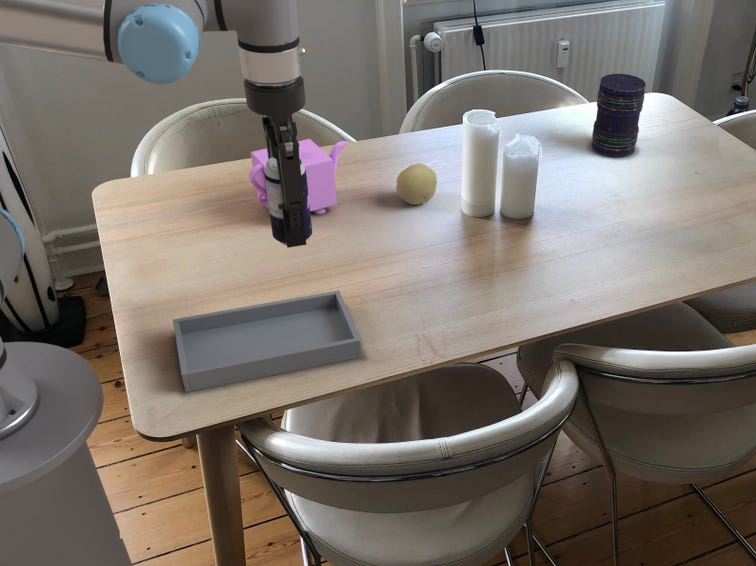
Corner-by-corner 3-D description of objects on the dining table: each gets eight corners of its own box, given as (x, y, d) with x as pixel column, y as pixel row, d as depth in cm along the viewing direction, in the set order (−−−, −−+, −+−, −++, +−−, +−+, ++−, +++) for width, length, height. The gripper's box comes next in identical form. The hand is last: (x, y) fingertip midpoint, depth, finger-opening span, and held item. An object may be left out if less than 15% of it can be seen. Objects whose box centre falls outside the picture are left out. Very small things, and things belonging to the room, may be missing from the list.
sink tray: (185, 392, 118) (181, 375, 116) (176, 336, 128) (172, 319, 126) (361, 357, 126) (360, 340, 124) (340, 306, 135) (339, 290, 133)
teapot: (266, 230, 152) (257, 168, 144) (245, 206, 159) (235, 145, 151) (363, 204, 161) (360, 144, 153) (340, 182, 168) (336, 123, 160)
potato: (440, 211, 160) (440, 173, 155) (399, 213, 159) (398, 175, 154) (434, 192, 166) (434, 155, 161) (395, 194, 165) (394, 157, 160)
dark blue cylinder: (585, 152, 183) (594, 86, 173) (596, 135, 190) (605, 70, 180) (630, 161, 180) (641, 94, 171) (639, 143, 187) (650, 78, 178)
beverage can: (319, 242, 121) (311, 166, 113) (282, 252, 118) (272, 175, 111) (303, 224, 124) (295, 150, 117) (267, 234, 122) (256, 158, 114)
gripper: (318, 101, 101) (332, 263, 115) (288, 49, 114) (304, 199, 129) (255, 108, 98) (278, 272, 113) (232, 53, 111) (255, 206, 126)
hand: (292, 233), depth 121 cm, fingers closed on beverage can, 6 cm apart
